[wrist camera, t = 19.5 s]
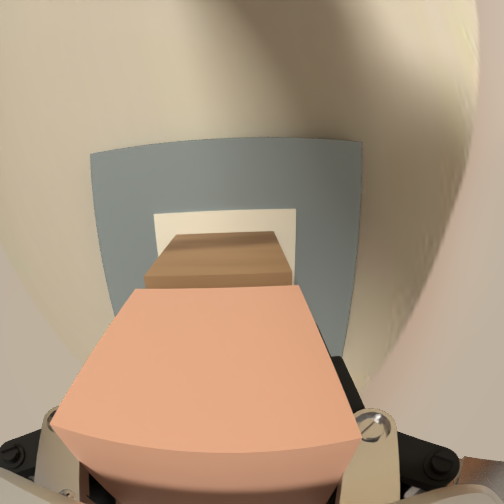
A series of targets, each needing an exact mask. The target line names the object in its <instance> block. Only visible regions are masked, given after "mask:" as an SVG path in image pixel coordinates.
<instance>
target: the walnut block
mask: <svg viewBox="0 0 504 504" xmlns="http://www.w3.org/2000/svg"><path fill="white" fill-rule="evenodd" d="M144 282H145V287H146V289H186V288H233V287H263V286H287V285H292V270H291V268H290V266H289V263H288V261H287V259H286V257H285V255H284V253H283V250H282V248H281V246H280V244H279V242H278V240H277V237H276V235H275V233H274V231H259V232H228V233H202V234H178V235H175V237H174V238H173V239H172V240H171V242H170V243H169V244H168V245H167V247H166V248H165V249H164V250H163V252H162V253H161V254H160V256H159V257H158V258H157V259H156V261H155V262H154V263H153V265H152V266H151V267H150V269H149V270H148V271H147V272H146V274H145V275H144Z"/></svg>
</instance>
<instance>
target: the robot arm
mask: <svg viewBox="0 0 504 504" xmlns="http://www.w3.org/2000/svg"><path fill="white" fill-rule="evenodd" d="M316 326H317V328H318V325H317V323H316ZM318 330H319V328H318ZM319 333H320V335H321V337H322V334H321V332H320V330H319ZM322 340H323V342H324V344H325V341H324V339H323V337H322ZM325 347H326V349H327V351H328V348H327V346H326V344H325ZM328 354H329V356H330V358H331V361H332V363H333V366H334V368H335V370H336V373H337V375H338V378H339V380H340V382H341V385H342V387H343V390H344V392H345V395H346V397H347V400H348V402H349V405H350V407H351V410H352V412H353V415H354V417H355V420H356V422H357V425H358V427H359V430H360V432H361V435H362V439H361V442H360V444H359V446H358V448H357V450H356V452H355V454H354V456H353V458H352V459H351V461H350V463H349V465H348V467H347V469H346V471H345V472H343V473H342V475H341V477H340V479H339V481H338V485H337V486H336V488H335V490H334V491H333V493H332V495H331V496H330V498H329V499H328V501H327V503H326V504H504V462H502V461H494V460H486V459H478V458H472V457H466V456H464V457H463V458H462V459H459V458H458V457H457V455H456V454H455V453H454V452H453V451H452V450H450V449H448V448H446V447H442V446H439V445H436V444H433V443H430V442H427V441H423V440H420V439H417V438H415V437H412V436H409V435H406V434H403V433H400V432H398V431H397V428H396V424H395V421H394V419H393V418H392V417H391V415H389V414H388V413H386V412H385V411H382V410H380V409H374V408H368V409H365V407H364V405H363V403H362V400H361V398H360V396H359V394H358V392H357V389H356V387H355V385H354V383H353V381H352V378H351V376H350V374H349V372H348V370H347V368H346V365H345V363H344V361H343V359H342V358H341V356H332V357H331V355H330V353H329V351H328ZM59 406H60V405H59ZM59 406H57V407H54V408H52V409H51V410H49V411H48V413H47V414H46V415H45V417H44V420H43V424H42V429H39V430H37V431H34V432H32V433H29V434H26V435H24V436H21V437H18V438H15V439H12V440H10V441H7V442H5V443H4V444H3V445H2V446H1V447H0V504H122V503H120V502H119V501H118V500H117V499H116V498H114V497H113V496H112V495H111V494H110V493H109V492H108V491H107V490H106V489H105V488H104V487H103V486H102V485H101V484H100V483H99V482H98V481H97V480H96V479H95V478H94V477H93V476H92V475H91V474H90V473H89V471H88V470H87V469H86V468H85V467H84V466H83V465H82V463H81V462H80V461H78V460H77V459H76V457H75V456H74V455H73V454H72V453H71V451H70V450H69V449H68V448H67V447H66V445H65V444H64V443H63V441H62V440H61V439H60V438H59V436H58V435H57V434H56V432H55V431H54V430H53V428H52V427H51V426H50V422H51V420H52V418H53V416H54V415H55V413H56V411H57V409H58V407H59Z"/></svg>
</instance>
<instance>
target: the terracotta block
mask: <svg viewBox="0 0 504 504" xmlns="http://www.w3.org/2000/svg"><path fill="white" fill-rule="evenodd" d="M50 426H51V427H52V428H53V430H54V431H55V432H56V434H57V435H58V436H59V438H60V439H61V440H62V441H63V443H64V444H65V445H66V447H67V448H68V449H69V450H70V451H71V453H72V454H73V455H74V456H75V457H76V459H77V460H78V461H80V462H81V463H82V465H83V466H84V467H85V468H86V469H87V470H88V471H89V473H90V474H91V475H92V476H93V477H94V478H95V479H96V480H97V481H98V482H99V483H100V484H101V485H102V486H103V487H104V488H105V489H106V490H107V491H108V492H109V493H110V494H111V495H112V496H113V497H114V498H116V499H117V500H118V501H119V502H120V503H122V504H326V503H327V501H328V499H329V498H330V496H331V495H332V493H333V491H334V490H335V488H336V486H337V485H338V481H339V479H340V477H341V475H342V473H343V472H345V471H346V469H347V467H348V465H349V463H350V461H351V459H352V458H353V456H354V454H355V452H356V450H357V448H358V446H359V444H360V442H361V439H362V435H361V432H360V430H359V427H358V425H357V422H356V420H355V417H354V415H353V412H352V410H351V407H350V405H349V402H348V400H347V397H346V395H345V392H344V390H343V387H342V385H341V382H340V380H339V378H338V375H337V373H336V370H335V368H334V366H333V363H332V361H331V358H330V356H329V354H328V351H327V349H326V347H325V344H324V342H323V340H322V337H321V335H320V333H319V330H318V328H317V326H316V323H315V321H314V319H313V316H312V314H311V312H310V310H309V307H308V305H307V303H306V300H305V298H304V296H303V294H302V291H301V289H300V287H299V285H287V286H263V287H233V288H186V289H135V290H134V291H133V293H132V294H131V296H130V297H129V298H128V300H127V301H126V303H125V304H124V305H123V307H122V308H121V310H120V311H119V312H118V314H117V315H116V317H115V318H114V320H113V321H112V323H111V324H110V326H109V327H108V329H107V330H106V332H105V333H104V335H103V336H102V338H101V339H100V341H99V342H98V344H97V345H96V347H95V348H94V350H93V351H92V353H91V354H90V356H89V358H88V359H87V361H86V362H85V364H84V365H83V367H82V369H81V370H80V372H79V374H78V375H77V377H76V379H75V380H74V382H73V383H72V385H71V387H70V388H69V390H68V392H67V394H66V395H65V397H64V399H63V400H62V402H61V404H60V406H59V407H58V409H57V411H56V413H55V415H54V416H53V418H52V420H51V422H50Z"/></svg>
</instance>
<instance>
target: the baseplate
mask: <svg viewBox="0 0 504 504" xmlns="http://www.w3.org/2000/svg"><path fill="white" fill-rule="evenodd" d="M90 164H91V179H92V191H93V201H94V210H95V218H96V226H97V233H98V239H99V245H100V251H101V257H102V262H103V267H104V272H105V277H106V282H107V286H108V291H109V295H110V299H111V303H112V307H113V311H114V315H115V317H116V315H117V314H118V312H119V311H120V310H121V308H122V307H123V305H124V304H125V303H126V301H127V300H128V298H129V297H130V296H131V294H132V293H133V291H134V290H135V289H146V287H145V282H144V275H145V274H146V272H147V271H148V270H149V269H150V267H151V266H152V265H153V263H154V262H155V261H156V259H157V258H158V257H159V256H160V254H161V253H162V252H163V250H164V249H165V248H166V247H167V245H168V244H169V243H170V242H171V240H172V239H173V238H174V237H175V235H178V234H202V233H228V232H259V231H274V233H275V235H276V237H277V240H278V242H279V244H280V246H281V248H282V250H283V253H284V255H285V257H286V259H287V261H288V263H289V266H290V268H291V270H292V285H299V287H300V289H301V291H302V294H303V296H304V298H305V300H306V303H307V305H308V307H309V310H310V312H311V314H312V316H313V319H314V321H315V323H317V325H318V328H319V330H320V332H321V334H322V337H323V339H324V341H325V344H326V346H327V348H328V351H329V353H330V355H331V357H332V356H341V358H342V353H343V348H344V342H345V337H346V331H347V325H348V319H349V313H350V306H351V299H352V292H353V285H354V277H355V268H356V259H357V248H358V237H359V224H360V208H361V185H362V142H357V141H346V140H333V139H315V138H285V137H251V138H221V139H203V140H190V141H178V142H168V143H159V144H150V145H142V146H135V147H128V148H122V149H115V150H109V151H104V152H98V153H93V154H90Z"/></svg>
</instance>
